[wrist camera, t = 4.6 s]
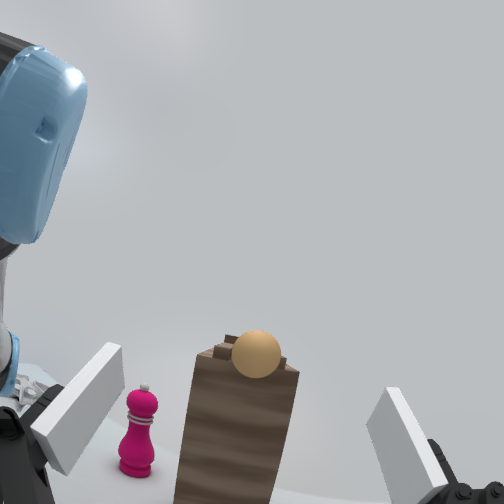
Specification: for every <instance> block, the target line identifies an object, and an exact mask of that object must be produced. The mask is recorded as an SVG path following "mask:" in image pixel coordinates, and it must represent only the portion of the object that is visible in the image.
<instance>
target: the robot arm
mask: <svg viewBox="0 0 504 504" xmlns="http://www.w3.org/2000/svg"><path fill="white" fill-rule="evenodd" d="M86 99H87V84H86V80H85V78H84V76H83V74H82V73H81V72H80V71H79V70H78V69H77V68H75V67H73V66H71V65H69V64H68V63H66V62H64V61H62V60H61V59H59V58H57V57H55V56H53V55H52V54H51V53H49V51H48V50H47V49H44V47H42V46H36V45H34V44H31V43H29V42H26V41H23V40H21V39H18V38H15V37H13V36H10V35H7V34H4V33H1V32H0V395H3V396H10V395H11V394H12V393H13V391H14V387H15V380H16V375H17V368H18V359H19V339H18V337H17V336H16V335H14V334H12V333H11V332H9V331H8V329H7V327H6V325H5V324H4V322H3V300H4V285H5V275H6V266H7V258H8V257H9V256H10V255H12V254H13V253H14V252H15V251H16V250H17V249H18V247H19V246H20V245H21V243H23V244H30V243H34V242H35V241H36V240H37V239H38V238H39V237H40V235H41V233H42V231H43V229H44V227H45V224H46V222H47V219H48V216H49V213H50V210H51V208H52V205H53V202H54V199H55V196H56V194H57V191H58V188H59V184H60V180H61V177H62V173H63V171H64V169H65V167H66V164H67V161H68V158H69V155H70V152H71V149H72V147H73V144H74V141H75V138H76V134H77V132H78V129H79V126H80V123H81V120H82V116H83V112H84V109H85V105H86ZM124 388H125V385H124V375H123V363H122V349H121V346H120V345H117V344H113V343H110V342H107V343H106V344H105V345H104V346H103V348H102V349H101V350H100V351H99V352H98V353H97V354H96V355H95V356H94V357H93V358H92V359H91V360H90V361H89V362H88V363H87V364H86V365H85V366H84V368H83V369H82V370H81V371H80V372H79V373H78V374H77V375H76V376H75V377H74V378H73V379H72V380H71V381H70V383H69V384H68V385H67V386H66V387H63V386H61V385H59V384H56V385H54V386H52V387H50V388H48V389H47V390H46V391H45V392H44V393H43V394H42V395H41V397H39V398H38V399H37V400H36V402H34V403H33V405H32V406H31V407H30V408H29V409H28V410H27V411H26V412H25V413H24V414H23V415H22V416H21V417H20V418H19V417H18V415H17V413H16V412H15V411H14V410H13V409H11V408H9V407H5V406H2V407H0V504H3V500H4V504H55V502H54V498H53V495H52V491H51V488H50V484H49V480H48V476H47V472H46V468H45V464H46V463H47V461H48V462H49V464H50V465H51V467H52V468H53V469H54V470H56V471H58V472H60V473H62V474H63V475H65V476H68V474H69V473H70V471H71V470H72V468H73V466H74V465H75V463H76V462H77V460H78V458H79V457H80V455H81V454H82V452H83V451H84V449H85V447H86V446H87V444H88V443H89V441H90V440H91V438H92V437H93V435H94V433H95V432H96V430H97V429H98V427H99V426H100V424H101V423H102V421H103V420H104V418H105V417H106V415H107V414H108V412H109V410H110V409H111V407H112V406H113V404H114V403H115V401H116V400H117V398H118V397H119V395H120V394H121V392H122V391H123V390H124ZM366 425H367V428H368V431H369V434H370V437H371V440H372V443H373V446H374V448H375V451H376V454H377V457H378V460H379V463H380V466H381V469H382V473H383V475H384V479H385V482H386V485H387V488H388V491H389V495H390V498H391V501H392V504H504V486H503V484H501V483H500V482H496V481H495V482H491V483H490V484H488V485H487V486H486V487H485V488H484V489H471V487H470V486H469V485H467V484H465V483H458V481H457V479H456V477H455V475H454V473H453V471H452V469H451V467H450V465H449V464H448V462H447V461H446V458H445V456H444V455H443V452H442V450H441V448H440V446H439V445H438V444H437V443H436V442H435V441H434V440H433V439H428V440H427V439H426V437H425V436H424V434H423V432H422V430H421V428H420V426H419V424H418V422H417V420H416V419H415V417H414V415H413V413H412V411H411V410H410V408H409V406H408V404H407V402H406V400H405V399H404V397H403V395H402V394H401V392H400V390H399V388H398V387H386V388H385V390H384V392H383V394H382V396H381V398H380V400H379V402H378V404H377V406H376V408H375V409H374V411H373V413H372V415H371V417H370V419H369V420H368V422H367V424H366Z"/></svg>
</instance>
